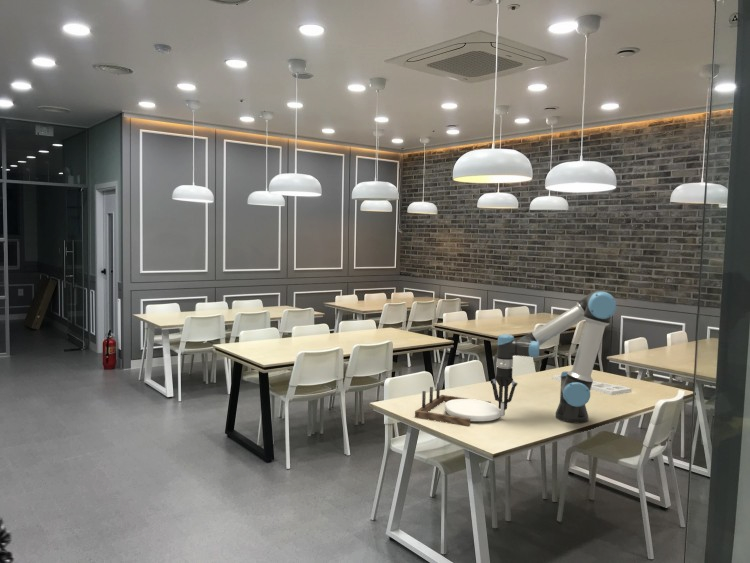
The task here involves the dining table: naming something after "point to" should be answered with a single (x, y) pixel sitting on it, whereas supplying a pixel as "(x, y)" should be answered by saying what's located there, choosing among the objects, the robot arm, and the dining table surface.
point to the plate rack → (439, 399)
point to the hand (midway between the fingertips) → (502, 415)
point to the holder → (606, 388)
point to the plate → (472, 409)
